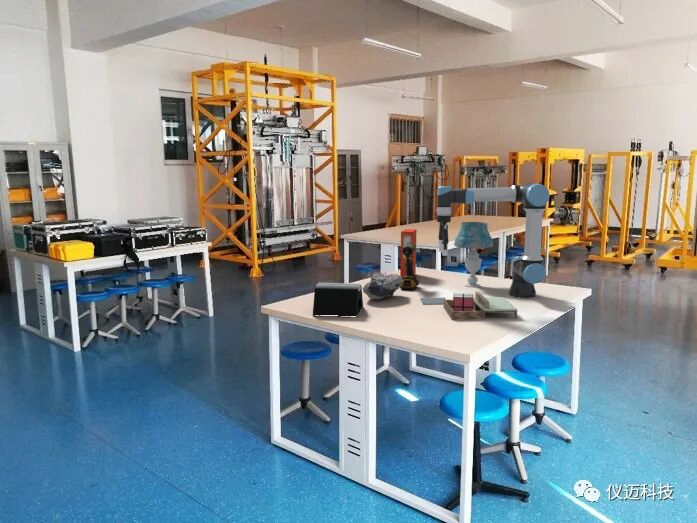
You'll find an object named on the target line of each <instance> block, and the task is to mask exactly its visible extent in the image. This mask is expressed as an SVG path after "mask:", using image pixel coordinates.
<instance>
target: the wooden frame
mask: <svg viewBox="0 0 697 523" xmlns="http://www.w3.org/2000/svg"><path fill="white" fill-rule="evenodd" d="M443 309H444V311H445V312H446V314H447V315H448V316H449V318H450V320H451V321H453V320H454V321H455V320H456V321H457V320H458V321H459V320H460V321H461V320H462V321H466V320H485V313H514V316H513V318H514V319H515V320H517V319H518V310H517V311H484V310H483V309H482V308H481V307H480V306H479V304H478V303H477V302H476V301H475V300H474V299H473V311H453V299H446V300H444V303H443Z"/></svg>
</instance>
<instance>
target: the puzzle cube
mask: <svg viewBox="0 0 697 523" xmlns="http://www.w3.org/2000/svg"><path fill="white" fill-rule="evenodd" d="M452 300H453V308H452V310H453V311H474V309H473V300H474V293H468V292H467V293H464V292H453V296H452Z"/></svg>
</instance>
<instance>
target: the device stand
mask: <svg viewBox="0 0 697 523" xmlns="http://www.w3.org/2000/svg"><path fill="white" fill-rule="evenodd" d="M362 288H363V287H362V283H347V282H346V283H342V282H341V283H340V282H317V284H316V285H315V287H314V292H313V294H314V295H313V306H312V316H313V315H338V316H357V315H358V316H359V314H360V313H361V311H362V310H361V309H363V308H364V301H363V300H364V299H363V289H362ZM362 307H363V308H362ZM360 310H361V311H360ZM359 312H360V313H359ZM358 313H359V314H358ZM358 316H357V317H358Z"/></svg>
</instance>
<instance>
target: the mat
mask: <svg viewBox="0 0 697 523" xmlns="http://www.w3.org/2000/svg"><path fill="white" fill-rule="evenodd" d="M444 300H447V299H446V297H420V302H421V304H422V305H423V306H425V305H426V306H430V305H431V306H432V305H433V306H434V305H435V306H436V305H437V306H438V305H440V306H441V305H443V303H444Z"/></svg>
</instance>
